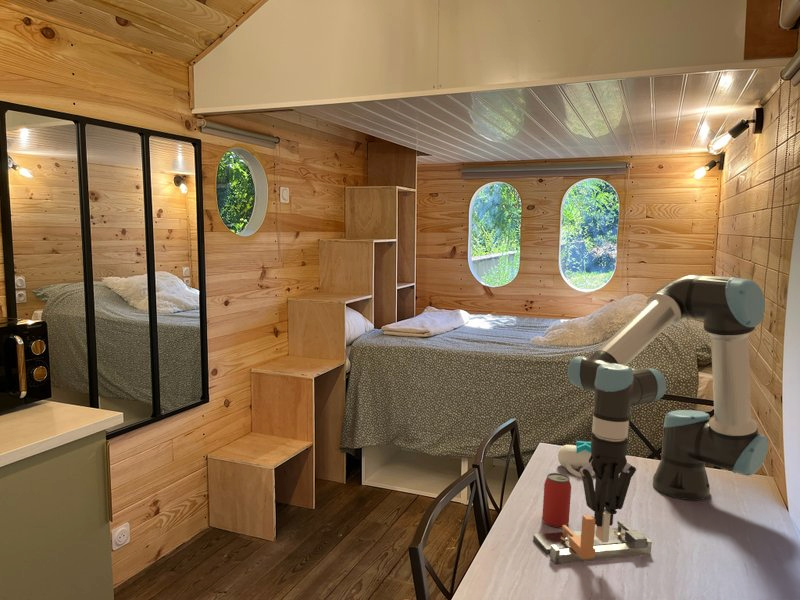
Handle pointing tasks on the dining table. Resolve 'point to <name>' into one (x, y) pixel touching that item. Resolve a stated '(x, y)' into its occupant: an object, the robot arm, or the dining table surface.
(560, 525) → the beer can
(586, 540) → the block
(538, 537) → the hole plate
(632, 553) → the beam
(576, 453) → the mug
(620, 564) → the dining table surface
